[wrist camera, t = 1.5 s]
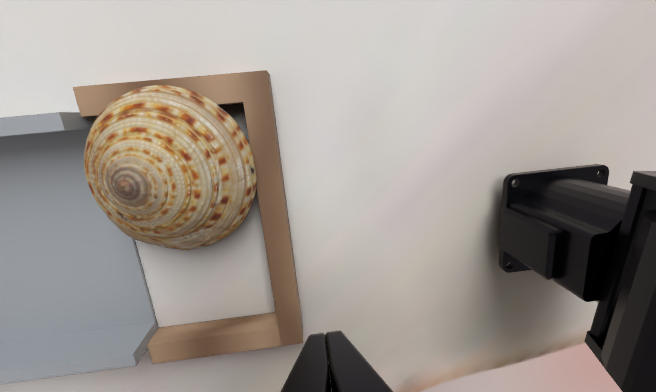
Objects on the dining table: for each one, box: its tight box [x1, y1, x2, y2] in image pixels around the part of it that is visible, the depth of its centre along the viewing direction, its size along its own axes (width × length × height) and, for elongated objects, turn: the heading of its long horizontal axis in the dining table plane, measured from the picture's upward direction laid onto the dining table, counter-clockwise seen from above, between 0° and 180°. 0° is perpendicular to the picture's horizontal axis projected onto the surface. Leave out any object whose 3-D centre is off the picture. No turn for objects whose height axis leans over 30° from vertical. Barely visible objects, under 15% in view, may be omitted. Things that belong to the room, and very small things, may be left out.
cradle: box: [73, 70, 303, 364], centre depth 18 cm, size 9×16×2 cm, turn 5°
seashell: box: [84, 85, 257, 250], centre depth 16 cm, size 8×6×8 cm
